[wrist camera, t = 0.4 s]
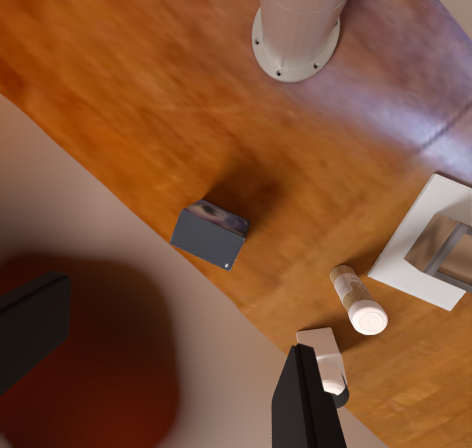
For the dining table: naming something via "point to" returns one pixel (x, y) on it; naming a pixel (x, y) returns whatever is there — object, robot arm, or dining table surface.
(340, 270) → the sprinkles bottle
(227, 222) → the small box
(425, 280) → the white rectangular board
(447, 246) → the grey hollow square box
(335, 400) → the medicine bottle
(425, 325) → the dining table surface
